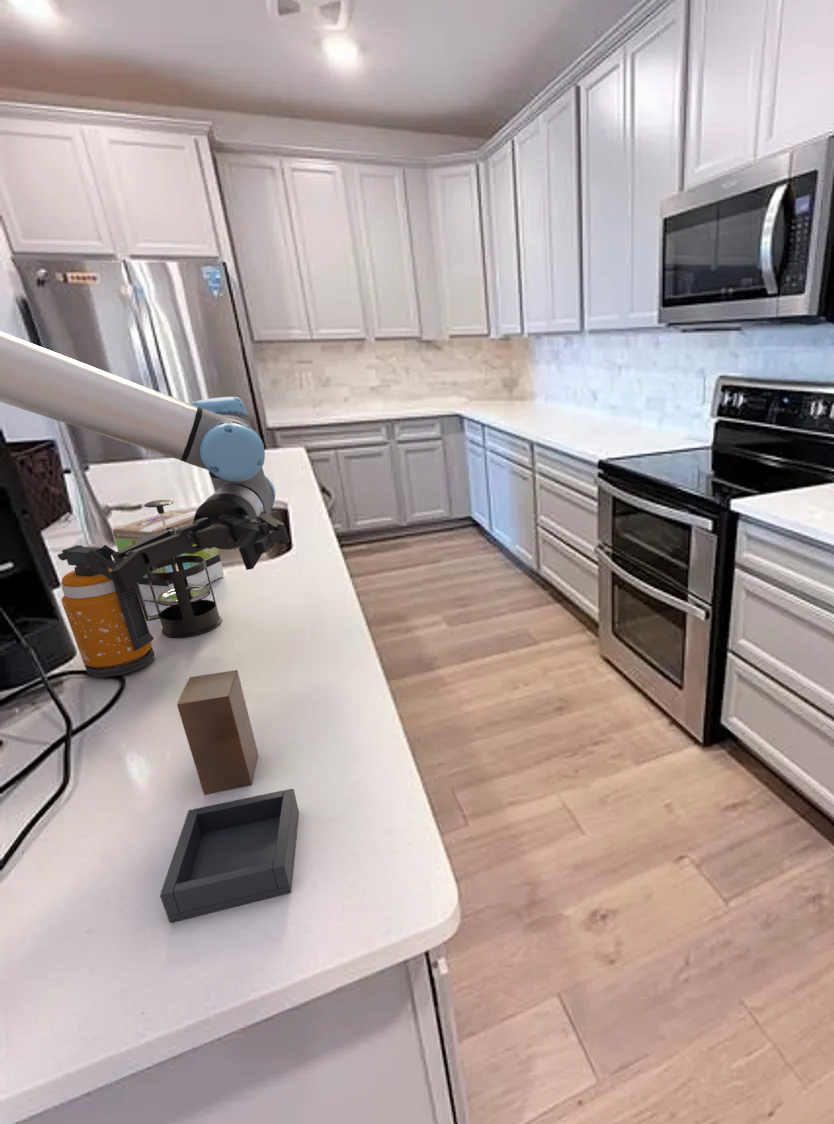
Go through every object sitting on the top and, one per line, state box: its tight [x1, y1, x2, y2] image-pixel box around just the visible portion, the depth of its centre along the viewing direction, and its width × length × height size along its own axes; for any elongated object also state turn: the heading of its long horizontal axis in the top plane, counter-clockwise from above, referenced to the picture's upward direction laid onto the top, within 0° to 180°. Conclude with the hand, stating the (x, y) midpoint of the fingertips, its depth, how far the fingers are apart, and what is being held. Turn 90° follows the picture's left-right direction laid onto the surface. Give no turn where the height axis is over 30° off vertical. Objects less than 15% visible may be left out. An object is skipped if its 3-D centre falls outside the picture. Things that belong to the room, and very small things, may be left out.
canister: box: [57, 544, 155, 678], centre depth 93 cm, size 9×11×20 cm
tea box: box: [112, 509, 225, 602], centre depth 125 cm, size 15×10×15 cm, turn 170°
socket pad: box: [159, 788, 300, 923], centre depth 60 cm, size 10×11×3 cm
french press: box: [135, 499, 223, 639], centre depth 106 cm, size 12×9×23 cm
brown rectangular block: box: [176, 669, 259, 795], centre depth 70 cm, size 5×6×12 cm
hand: (183, 570), depth 70 cm, fingers open, 13 cm apart
